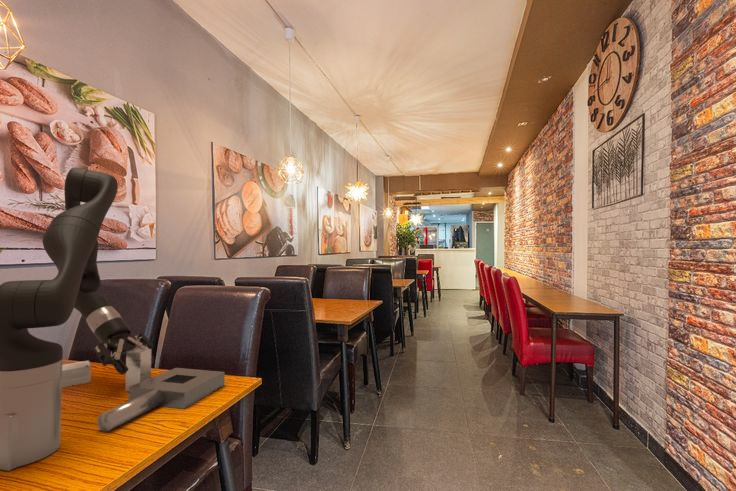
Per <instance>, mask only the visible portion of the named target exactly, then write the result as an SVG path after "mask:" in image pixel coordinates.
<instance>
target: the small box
mask: <svg viewBox="0 0 736 491" xmlns="http://www.w3.org/2000/svg"><path fill="white" fill-rule="evenodd" d="M91 380H92V367H91V362H90V360H83V361H77V362H72V363H66V364H62V387H63V388H68V386H69V387H72V385H74V386H77V385H78V384H79V385H83V384H88V383H91V382H92V381H91Z"/></svg>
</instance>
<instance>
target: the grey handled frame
mask: <svg viewBox="0 0 736 491" xmlns="http://www.w3.org/2000/svg"><path fill="white" fill-rule="evenodd" d="M225 375H226V374H225V371H217V370H207V369H206V370H205V369H196V368H195V369H194V368H185V367H184V368H183V367H175V368H172V369H170V370H167V371H165V372H162V373H160V374H157V375H155V376H151V378H149V379H147V380H145V381H142V382H140V383H137V384H135V385H132V386H130V387H129V391H128V401H126V402H124V403H122V404H120V405H117V406H116V407H113V408H111V409H109V410H107V411H104V412H102V413H100V414H99V415H98V417H97V426H98V429H99V430H100V431H102V432H103V433H108V432H109V431H111V430H113V429H115V428H117V427H119V426H122V425H123V424H125V423H127V422H128V421H131V420H133V419H134V418H137V417H138V416H141V415H143V414H144V413H147V412H148V411H151V410H152V409H154V408H156V407H164V408H172V409H181V410H185V409H187V408H189V407H190V406H192V405H194V404H195V402H196V403H198V402H199V401H201V400H203V399H205V398H206V397H207V395H208V394H209V395H211V394H213V393H214V392H213V391H215V390H216V391H218V390H219V389H218V388H220V387H222V386H223V387H225V384H226V383H225V381H226V380H225V377H226V376H225ZM223 387H222V388H223ZM217 389H218V390H217ZM220 389H221V388H220ZM216 391H215V392H216ZM212 392H213V393H212ZM210 393H211V394H210ZM209 395H208V396H209ZM205 396H206V397H205ZM202 398H203V399H202ZM200 399H201V400H200Z"/></svg>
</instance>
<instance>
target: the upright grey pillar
mask: <svg viewBox="0 0 736 491" xmlns="http://www.w3.org/2000/svg"><path fill="white" fill-rule="evenodd" d="M125 354H126V356H125V357H126V358H125V365H126V366H127V368H128V371H127V372H126V373H125V392H129V387H130V386H132V385H135V384H137V383H140V382H142V381H145V380H147V379H149V378H152V364H151V354H152V348H151V349H140V348H137V349H133V350H130V351H126V353H125Z"/></svg>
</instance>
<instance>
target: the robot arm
mask: <svg viewBox="0 0 736 491" xmlns="http://www.w3.org/2000/svg"><path fill="white" fill-rule="evenodd" d="M65 176H66V177H65V179H64V207H65V210H64V211H61V212H59V213H58V214H57V215H56V216H54V218H53V219H52V220H51V221H50V223H49V225H48V227H47V229H46V230H45V232H44V234H43V236H42V246H43V248H44V251H45V253H46V254H47V256H48V257H49V259H50V260H51V261H52V262H53V264H54V266H56V269H57V274H56V276H54V278H53V279H33V280H30V279H29V280H28V279H27V280H26V279H25V280H24V279H23V280H9V281H5V282H3V283H2V284H0V470H3V471H12V470H13V469H17V468H18V467H22V466H25V465H28V464H32V463H34V462H37V461H40V460H42V459H44V458H46V457H48V456H50V455H52V454H54V453H55V452H56V451H57V450H58V449H59V448H60V446H61V432H62V431H61V429H62V428H61V426H62V425H61V424H62V423H61V421H62V420H61V419H62V392H63V390H62V389H63V388H62V365H63V354H64V351H63V350H64V349H63V346H62V344H59V343H57V342H54V341H50V340H45V339H41V338H39V337H36V336H34V335H33V334H31V333H30V332H29V329H41V328H42V329H43V328H50V327H59V326H61V325H64V324H65V323H66V322H67V321H68V320H69V319H70V317H71V316H72V314H73V311H74V309H75V310H77V311H78V312H79V313H80V314H81V316H82V317H83V318H84V321H86V323H87V326H88V327H89V329H90V330H91V332H92V333H93V335H94V336H95V337H96V339H97V340H98V341H99V343H98V344H97V345H96V346H95V347H94V349H93V351H94V353H95V354H96V356H97V358H98V360H99V361H100V363H101V364H102V366H107V365H111V366H113V367H114V369H115V370H116V371H117V373H118V374H120V375H126V372H127V371H128V368H127V366H126V362H124V361H123V359H121V356H122V355H124V354H126V351H130V350H133V349H137V348H140V349H151V350H152V348H153V347H154V344H153V343H152V342H151V341H150V340H149V339H148V338H147V336H146V335H145V334H144V333H143V332H139V333H138V335H133V334H132V333H131V327H130V326H129V325H128V324H127V322H126V321H125V320H124V319H123V317H122V316H121V314H120V313H119V312H118V311H117V310H116V309H115V308H114V307H113V305H112V304H111V303H110V302H109V300H108V299H107V298H106V297H105V296H104V294H100V293H97V292H98V291H99V290H100V288H101V287H102V286H101V285H102V281H101V276H100V273H99V269H98V264H97V263H98V262H97V259H98V253H99V252H98V251H99V240H98V238H99V236H100V233H101V232H100V231H101V229H102V226H103V223H104V220H105V218H106V216H107V214H108V212H109V210H110V208H111V207H112V205H113V202H115V199H116V197H117V193H118V188H119V183H118V180H117V178H116V177H115V176H114V175H112V174H109V173H106V172H101V171H97V170H91V169H87V168H81V167H76V166H75V167H72V168H70V169H69V170H68V172H67V173H66V175H65ZM154 362H155V357H154V355H153V354H152V353H151V365H152V364H153V363H154Z"/></svg>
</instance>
